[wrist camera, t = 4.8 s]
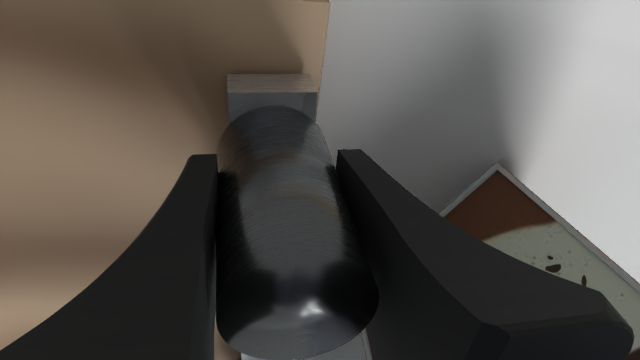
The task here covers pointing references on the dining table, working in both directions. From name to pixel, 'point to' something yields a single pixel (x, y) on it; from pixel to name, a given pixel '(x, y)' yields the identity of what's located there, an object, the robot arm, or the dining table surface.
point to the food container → (539, 242)
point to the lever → (284, 228)
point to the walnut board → (118, 125)
